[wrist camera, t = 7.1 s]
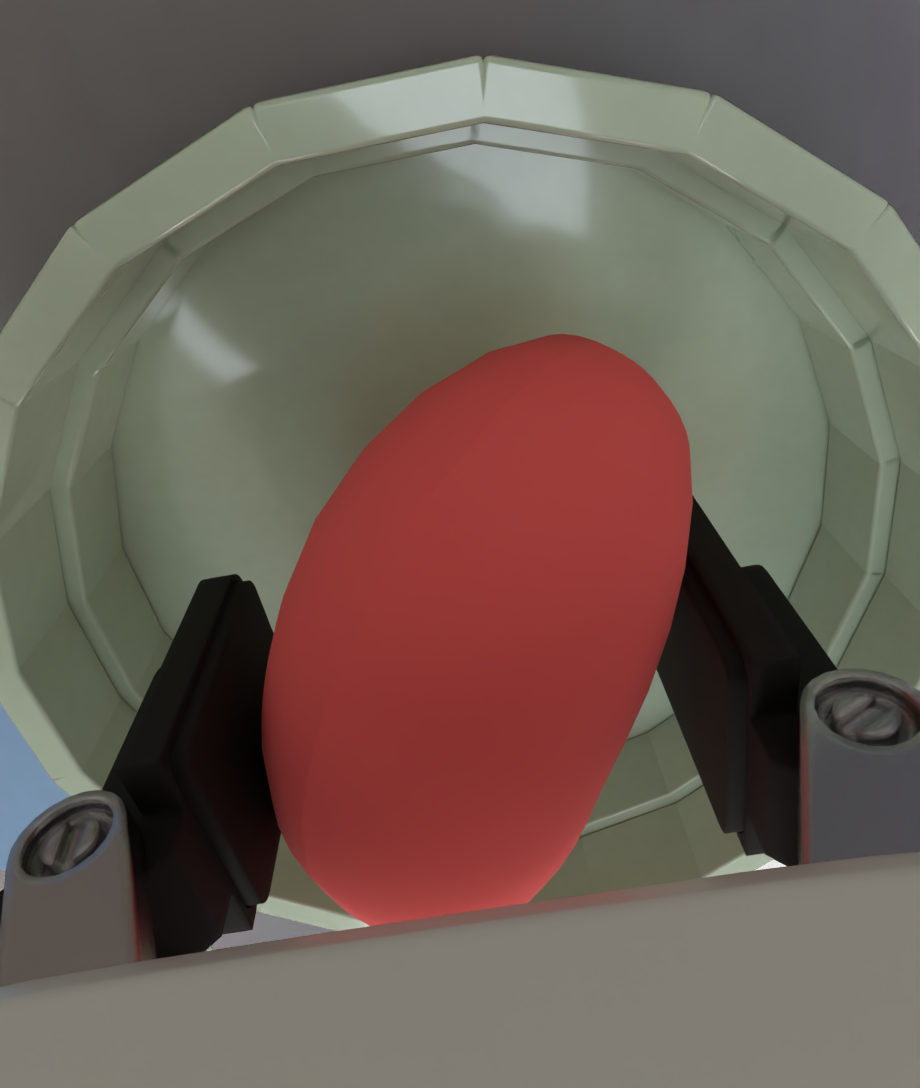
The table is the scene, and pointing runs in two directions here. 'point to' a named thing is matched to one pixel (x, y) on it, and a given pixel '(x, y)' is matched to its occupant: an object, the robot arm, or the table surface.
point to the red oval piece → (477, 631)
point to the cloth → (20, 786)
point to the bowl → (432, 355)
